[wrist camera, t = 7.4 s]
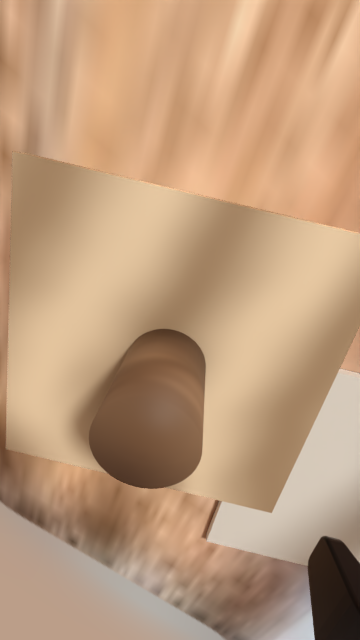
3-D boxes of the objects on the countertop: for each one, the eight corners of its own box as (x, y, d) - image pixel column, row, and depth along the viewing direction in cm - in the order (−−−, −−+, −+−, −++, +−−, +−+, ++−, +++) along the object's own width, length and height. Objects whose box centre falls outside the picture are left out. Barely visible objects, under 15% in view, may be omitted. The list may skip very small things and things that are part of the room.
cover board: (384, 238, 12) (510, 280, 7) (268, 495, 17) (291, 628, 12) (27, 153, 12) (-109, 131, 7) (16, 434, 17) (-67, 541, 12)
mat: (544, 419, 20) (553, 426, 19) (410, 584, 26) (415, 592, 25) (276, 352, 20) (278, 357, 19) (206, 533, 26) (206, 541, 25)
